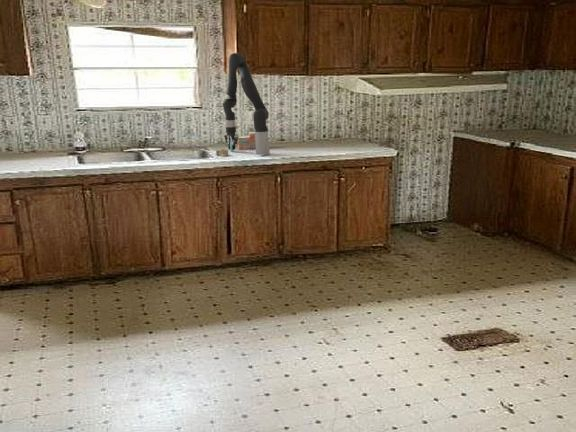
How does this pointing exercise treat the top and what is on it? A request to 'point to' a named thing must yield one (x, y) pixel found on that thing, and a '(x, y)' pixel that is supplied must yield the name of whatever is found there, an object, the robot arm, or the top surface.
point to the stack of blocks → (247, 141)
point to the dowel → (231, 147)
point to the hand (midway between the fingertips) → (231, 149)
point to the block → (223, 152)
